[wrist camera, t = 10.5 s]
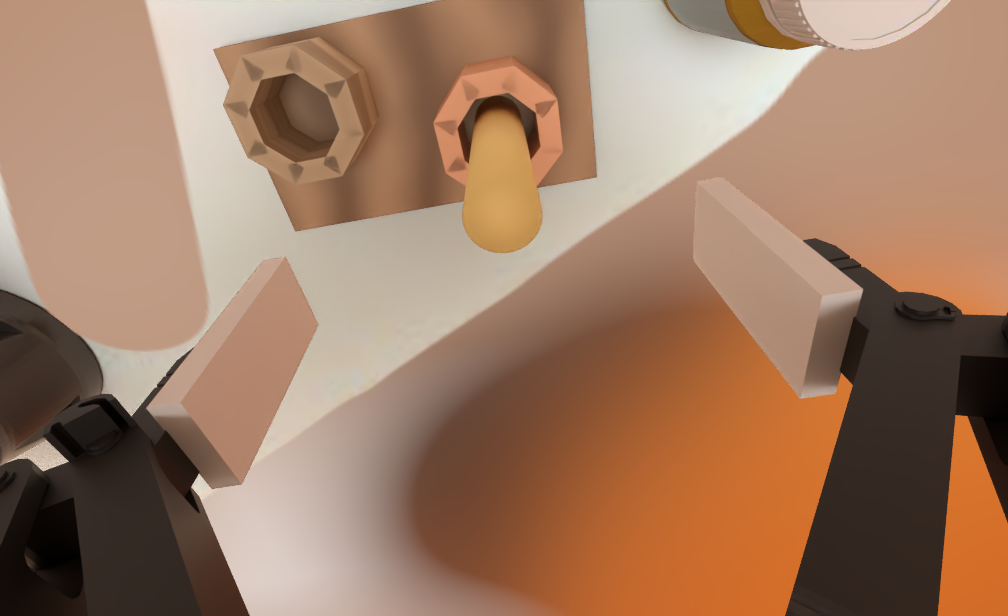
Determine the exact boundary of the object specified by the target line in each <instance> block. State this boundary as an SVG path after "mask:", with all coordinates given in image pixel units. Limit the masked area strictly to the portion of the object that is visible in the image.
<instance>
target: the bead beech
mask: <svg viewBox="0 0 1008 616" xmlns="http://www.w3.org/2000/svg"><path fill="white" fill-rule="evenodd" d="M292 73H295V74H297V75H298V76H300V77H301V78H303V79H304V80H306V81H307V82H309V83H310V84H312V85H314V86H315V87H317V88H318V89H320V90H321V91H323V92H324V93H326V94H327V95H328V98H329V101H330V104H331V106H332V109H333V112H334V115H335V118H336V120H337V123H338V126H339V129H340V130H339V132H338V134H337V136H336V138H335V139H331V140H326V141H321V142H318V141H316V140H314V139H313V138H311V137H309V136H308V135H306V134H305V133H303V132H301V131H300V130H298V129H296V128H295V127H293V126H291V124H290V121H289V119H288V116H287V114H286V111H285V109H284V107H283V104H282V102H281V99H280V97H279V93H280V91H281V88H282V86H283V83H284V81H285V79H286V76H287V74H292ZM223 106H224V108H225V110H226V112H227V114H228V116H229V119H230V121H231V123H232V125H233V127H234V129H235V131H236V134H237V136H238V138H239V140H240V142H241V144H242V146H243V148H244V151H245V153H246V155H247V157H248V158H250V159H251V160H253V161H255V162H257V163H258V164H260V165H262V166H264V167H265V168H267V169H269V170H271V171H272V172H274V173H276V174H278V175H279V176H281V177H283V178H285V179H286V180H288V181H290V182H292V183H293V184H295V185H298V184H303V183H309V182H314V181H319V180H325V179H330V178H335V177H341V176H343V175H344V173H345V172H346V171H347V170H348V168H349V167H350V166H351V164H352V163H353V162H354V161H355V159H356V158H357V157H358V155H359V154H360V152H361V150H362V148H363V147H364V145H365V143H366V141H367V139H368V137H369V135H370V133H371V131H372V130H373V128H374V126H375V124H376V122H377V120H378V118H379V114H378V111H377V107H376V104H375V101H374V97H373V94H372V91H371V88H370V84H369V81H368V78H367V75H366V71H365V68H364V67H363V66H361V65H360V64H358V63H357V62H355V61H354V60H353V59H351V58H350V57H348V56H347V55H345V54H344V53H342V52H341V51H339V50H338V49H337V48H335V47H334V46H332V45H331V44H329V43H328V42H326V41H325V40H323V39H322V38H321V37H316V38H311V39H307V40H302V41H297V42H293V43H288V44H283V45H279V46H274V47H270V48H267V49H263V50H260V51H256V52H253V53H249V54H246V55H242V56H241V57H240V59H239V62H238V65H237V68H236V70H235V73H234V76H233V79H232V82H231V84H230V87H229V90H228V93H227V95H226V98H225V101H224V104H223Z"/></svg>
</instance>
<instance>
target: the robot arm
mask: <svg viewBox="0 0 1008 616" xmlns="http://www.w3.org/2000/svg"><path fill="white" fill-rule="evenodd" d="M694 220H695V221H694V245H693V260H694V262H695V263H696V264H697V266H698V267H699V268H700V270H701V271H702V272H703V273H704V275H705V276H706V277H707V279H708V280H709V281H710V282H711V284H712V285H713V286H714V288H715V289H716V290H717V292H718V293H719V294H720V296H721V297H722V298H723V299H724V301H725V302H726V303H727V305H728V306H729V307H730V308H731V310H732V311H733V312H734V314H735V315H736V316H737V318H738V319H739V320H740V321H741V322H742V324H743V325H744V326H745V328H746V329H747V330H748V332H749V333H750V334H751V336H752V337H753V338H754V339H755V341H756V342H757V343H758V345H759V346H760V347H761V349H762V350H763V351H764V353H765V354H766V355H767V356H768V358H769V359H770V360H771V362H772V363H773V364H774V365H775V367H776V368H777V369H778V371H779V372H780V373H781V375H782V376H783V377H784V378H785V380H786V381H787V382H788V384H789V385H790V386H791V388H792V389H793V390H794V391H795V393H796V394H797V395H798V397H799V398H800V399H802V398H809V397H815V396H821V395H829V394H835V393H836V390H837V386H838V382H839V378H840V375H841V373H842V374H843V375H844V376H845V377H846V378H847V379H848V380H849V381H850V382H851V383H852V385H853V387H852V391H851V394H850V397H849V401H848V404H847V408H846V411H845V414H844V418H843V421H842V425H841V428H840V431H839V435H838V438H837V442H836V445H835V448H834V452H833V455H832V459H831V462H830V465H829V469H828V472H827V476H826V479H825V482H824V486H823V489H822V493H821V496H820V499H819V503H818V507H817V510H816V513H815V516H814V520H813V524H812V527H811V530H810V533H809V537H808V540H807V544H806V547H805V550H804V554H803V557H802V561H801V564H800V568H799V571H798V574H797V578H796V581H795V584H794V588H793V591H792V595H791V598H790V602H789V605H788V608H787V611H786V615H785V616H937V615H938V604H939V592H940V580H941V570H942V559H943V547H944V536H945V525H946V514H947V503H948V492H949V480H950V469H951V457H952V447H953V436H954V423H955V415H962V416H968V419H969V421H970V424H971V427H972V429H973V432H974V435H975V437H976V440H977V442H978V445H979V448H980V450H981V453H982V456H983V458H984V461H985V464H986V466H987V469H988V472H989V474H990V477H991V479H992V482H993V485H994V487H995V490H996V493H997V495H998V498H999V501H1000V503H1001V506H1002V509H1003V511H1004V514H1005V517H1006V519H1007V522H1008V313H1007V315H1006V316H995V315H963V314H962V312H961V310H959V309H958V308H957V307H956V306H955V305H953V304H952V303H950V302H948V301H946V300H944V299H942V298H939V297H936V296H932V295H928V294H924V293H915V292H898V291H896V290H895V289H893V288H892V287H891V286H889V285H888V284H887V283H885V282H884V281H883V280H881V279H880V278H879V277H877V276H876V275H875V274H873V273H872V272H871V271H869V270H868V269H866V268H865V267H861V264H859V263H858V262H857V261H856V260H854V259H850V256H849V255H847V254H846V253H844V252H843V251H842V250H841V249H839V248H838V247H836V246H835V245H832V244H829V243H826V242H824V241H821V240H818V239H816V238H815V239H808V240H803V241H802V240H801V239H800V238H798V237H797V236H796V235H795V234H793V233H792V232H791V231H789V230H788V229H787V228H786V227H784V226H783V225H782V224H781V223H779V222H778V221H777V220H776V219H774V218H773V217H772V216H771V215H769V214H768V213H767V212H766V211H764V210H763V209H762V208H761V207H759V206H758V205H757V204H756V203H754V202H753V201H751V200H750V199H749V198H748V197H747V196H745V195H744V194H743V193H742V192H740V191H739V190H738V189H737V188H735V187H734V186H733V185H732V184H730V183H729V182H728V181H727V180H725V179H724V178H723V177H722V176H721V177H715V178H710V179H704V180H699V181H696V194H695V219H694ZM317 327H318V323H317V321H316V319H315V317H314V315H313V312H312V310H311V308H310V306H309V304H308V302H307V300H306V298H305V296H304V294H303V292H302V289H301V287H300V285H299V283H298V281H297V279H296V277H295V275H294V273H293V271H292V269H291V267H290V264H289V262H288V260H287V258H286V257H280V258H275V259H269V260H264V261H262V263H261V264H260V265H259V266H258V268H257V269H256V270H255V272H254V273H253V274H252V275H251V277H250V278H249V279H248V280H247V282H246V283H245V284H244V285H243V287H242V288H241V289H240V290H239V292H238V293H237V294H236V296H235V297H234V298H233V299H232V301H231V302H230V303H229V304H228V306H227V307H226V308H225V309H224V311H223V312H222V313H221V314H220V316H219V317H218V318H217V319H216V321H215V322H214V323H213V325H212V326H211V327H210V328H209V330H208V331H207V332H206V333H205V335H204V336H203V337H202V338H201V340H200V341H199V342H198V343H197V345H196V346H195V347H194V348H192V349H191V350H190V351H189V352H187V353H186V354H185V355H184V356H182V357H181V358H180V359H178V360H177V361H176V362H175V364H174V365H173V366H172V367H171V369H170V370H169V371H168V372H167V374H166V377H163V379H162V380H161V381H160V382H159V383H158V385H157V388H154V390H153V391H152V392H151V393H150V395H149V396H148V397H147V398H146V399H145V401H144V402H143V403H142V404H141V406H140V407H139V408H138V409H137V411H136V412H135V413H134V414H133V416H132V417H131V416H130V415H129V413H128V412H127V411H126V410H125V409H124V408H123V406H122V405H121V404H120V403H119V402H118V400H117V399H116V398H115V397H114V396H113V395H112V394H100V393H101V389H102V377H101V372H100V369H99V366H98V364H97V362H96V360H95V358H94V356H93V355H92V353H91V352H90V350H89V349H88V348H87V346H86V345H85V344H84V343H83V342H82V340H81V339H80V338H79V337H78V336H77V335H76V334H75V333H74V332H73V331H71V330H70V329H69V328H68V327H67V326H66V325H64V324H63V323H62V322H60V321H59V320H58V319H56V318H55V317H53V316H52V315H50V314H49V313H47V312H46V311H44V310H42V309H40V308H39V307H37V306H35V305H33V304H31V303H29V302H27V301H25V300H23V299H20V298H18V297H16V296H13V295H10V294H8V293H5V292H2V291H0V616H250V615H249V614H248V611H247V609H246V606H245V604H244V601H243V599H242V597H241V594H240V592H239V590H238V587H237V585H236V582H235V580H234V578H233V575H232V573H231V571H230V568H229V566H228V564H227V561H226V559H225V557H224V554H223V552H222V550H221V547H220V545H219V543H218V540H217V538H216V536H215V533H214V531H213V528H212V526H211V524H210V521H209V519H208V517H207V514H206V512H205V509H204V507H203V505H202V502H201V500H200V498H199V496H198V495H197V493H196V492H195V491H194V490H193V489H192V488H191V486H192V484H193V483H194V481H195V479H196V477H197V476H198V474H200V475H201V476H202V477H203V479H204V480H205V481H206V482H207V484H208V485H209V486H210V487H211V488H212V489H215V488H221V487H227V486H234V485H241V484H242V483H243V481H244V479H245V477H246V475H247V473H248V471H249V469H250V466H251V464H252V462H253V460H254V458H255V456H256V454H257V452H258V450H259V448H260V446H261V444H262V441H263V439H264V437H265V435H266V433H267V431H268V429H269V427H270V425H271V423H272V421H273V419H274V416H275V414H276V412H277V410H278V408H279V406H280V404H281V402H282V400H283V398H284V396H285V394H286V391H287V389H288V387H289V385H290V383H291V381H292V379H293V377H294V375H295V373H296V371H297V368H298V366H299V364H300V362H301V360H302V358H303V356H304V354H305V352H306V350H307V348H308V346H309V343H310V341H311V339H312V337H313V335H314V333H315V331H316V329H317ZM45 440H47V441H48V442H49V443H50V444H51V445H53V446H54V447H55V448H56V449H57V450H58V451H59V452H60V453H61V454H62V455H63V456H64V457H65V458H66V459H67V460H68V461H69V462H67V463H65V464H62V465H59V466H57V467H54V468H51V469H49V470H46V471H42V470H41V469H40V468H39V467H37V466H36V465H35V464H34V463H33V462H32V461H30V460H29V459H17V460H14V461H11V462H8V461H9V460H11V459H13V458H15V457H17V456H18V455H20V454H22V453H24V452H25V451H27V450H29V449H31V448H33V447H34V446H36V445H38V444H40V443H42V442H43V441H45ZM6 462H8V463H6ZM4 463H5V464H4Z"/></svg>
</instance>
